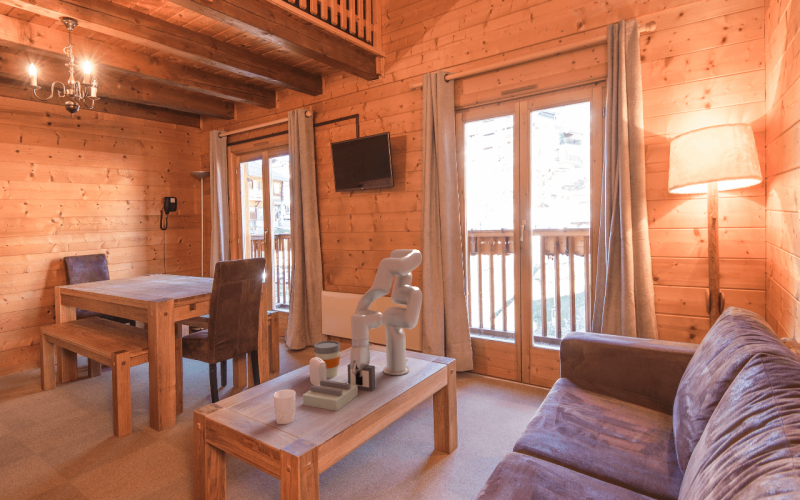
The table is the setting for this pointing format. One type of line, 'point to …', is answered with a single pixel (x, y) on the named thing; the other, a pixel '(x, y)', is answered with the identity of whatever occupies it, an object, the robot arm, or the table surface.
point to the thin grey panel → (367, 375)
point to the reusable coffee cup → (329, 356)
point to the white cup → (285, 406)
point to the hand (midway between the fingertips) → (361, 382)
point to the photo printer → (317, 371)
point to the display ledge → (330, 395)
